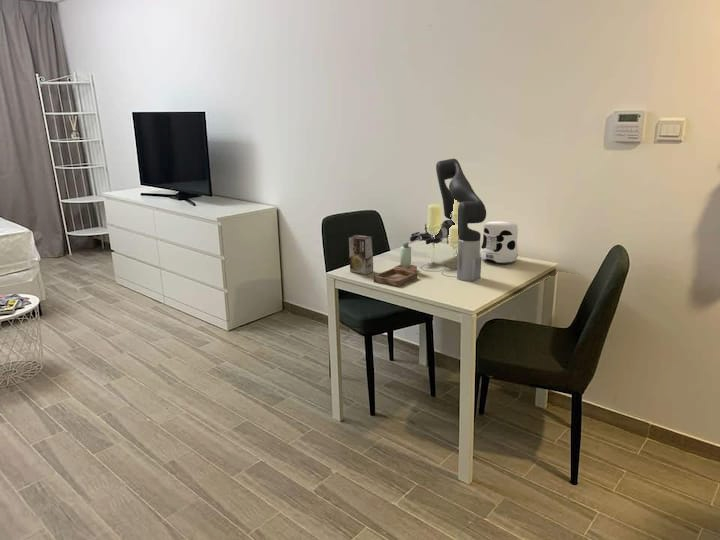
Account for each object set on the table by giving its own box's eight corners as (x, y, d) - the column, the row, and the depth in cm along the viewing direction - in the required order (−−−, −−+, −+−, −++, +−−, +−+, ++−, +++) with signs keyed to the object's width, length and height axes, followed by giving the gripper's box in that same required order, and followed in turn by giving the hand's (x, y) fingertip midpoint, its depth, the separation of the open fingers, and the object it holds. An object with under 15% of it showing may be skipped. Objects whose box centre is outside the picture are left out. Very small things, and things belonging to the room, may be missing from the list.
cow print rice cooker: (514, 257, 265) (516, 220, 260) (520, 266, 248) (523, 228, 243) (478, 256, 267) (480, 220, 262) (482, 266, 250) (484, 228, 245)
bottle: (412, 270, 246) (413, 242, 242) (407, 272, 242) (407, 244, 238) (404, 268, 249) (404, 241, 245) (398, 271, 245) (398, 243, 241)
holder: (416, 270, 246) (416, 265, 245) (408, 274, 240) (408, 269, 240) (403, 267, 250) (403, 263, 250) (394, 271, 245) (394, 266, 244)
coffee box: (373, 271, 246) (373, 236, 241) (365, 274, 241) (365, 239, 236) (357, 268, 251) (356, 234, 246) (349, 271, 246) (348, 237, 241)
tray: (417, 278, 234) (417, 272, 234) (398, 286, 223) (398, 281, 223) (393, 273, 242) (393, 268, 241) (373, 281, 231) (373, 276, 230)
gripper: (423, 224, 266) (405, 230, 254) (449, 228, 258) (432, 235, 246) (423, 239, 268) (405, 246, 256) (449, 243, 260) (431, 251, 248)
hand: (418, 240), depth 251 cm, fingers open, 8 cm apart
